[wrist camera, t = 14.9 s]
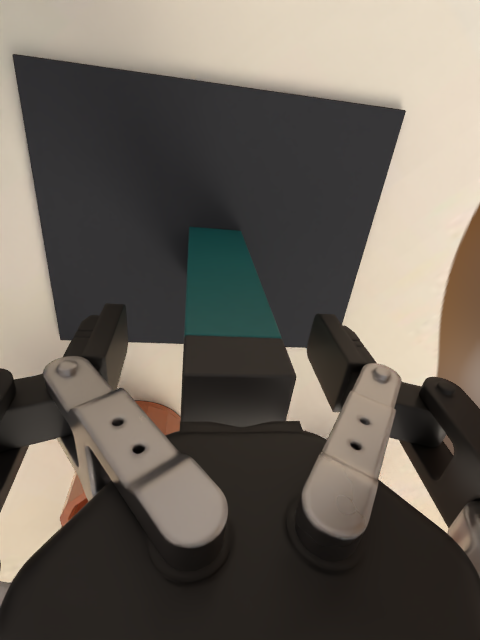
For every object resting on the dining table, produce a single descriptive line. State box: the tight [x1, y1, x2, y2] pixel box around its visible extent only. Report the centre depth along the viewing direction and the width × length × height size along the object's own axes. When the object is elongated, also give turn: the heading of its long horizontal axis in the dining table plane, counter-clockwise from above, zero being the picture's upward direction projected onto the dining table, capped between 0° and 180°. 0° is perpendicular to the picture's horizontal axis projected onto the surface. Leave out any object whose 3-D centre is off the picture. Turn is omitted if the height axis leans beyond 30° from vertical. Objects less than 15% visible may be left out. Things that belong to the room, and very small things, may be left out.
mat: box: [13, 54, 406, 348], centre depth 22 cm, size 20×16×1 cm
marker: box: [181, 227, 296, 427], centre depth 16 cm, size 3×3×14 cm
